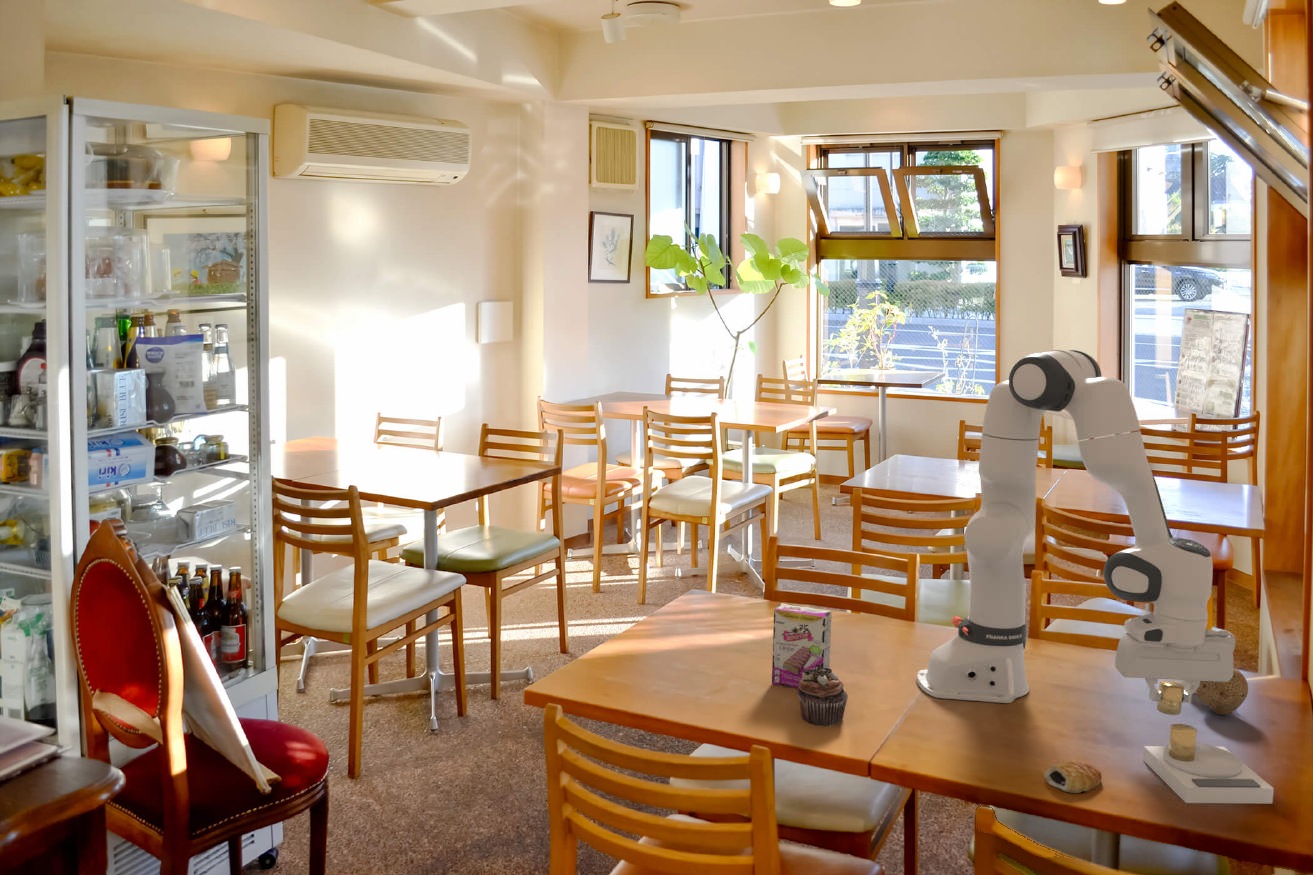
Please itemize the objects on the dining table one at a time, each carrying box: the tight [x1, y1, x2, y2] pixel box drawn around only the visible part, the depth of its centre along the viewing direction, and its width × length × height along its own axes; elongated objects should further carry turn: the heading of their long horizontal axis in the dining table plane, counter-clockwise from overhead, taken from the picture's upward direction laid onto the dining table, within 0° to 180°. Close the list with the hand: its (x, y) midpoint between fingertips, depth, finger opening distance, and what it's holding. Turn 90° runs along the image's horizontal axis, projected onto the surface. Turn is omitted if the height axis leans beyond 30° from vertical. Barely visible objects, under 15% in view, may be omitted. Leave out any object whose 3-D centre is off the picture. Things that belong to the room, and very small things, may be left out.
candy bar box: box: [771, 603, 832, 689], centre depth 228 cm, size 11×5×16 cm, turn 65°
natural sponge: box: [1195, 666, 1249, 716], centre depth 214 cm, size 9×9×10 cm
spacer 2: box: [1168, 723, 1197, 762], centre depth 187 cm, size 4×4×5 cm
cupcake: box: [796, 665, 849, 727], centre depth 211 cm, size 10×10×10 cm
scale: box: [1142, 742, 1274, 805], centre depth 186 cm, size 14×16×4 cm
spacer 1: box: [1156, 680, 1184, 716], centre depth 201 cm, size 4×4×5 cm
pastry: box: [1044, 760, 1102, 794], centre depth 185 cm, size 9×7×4 cm
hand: (1169, 700), depth 202 cm, fingers closed on spacer 1, 4 cm apart
